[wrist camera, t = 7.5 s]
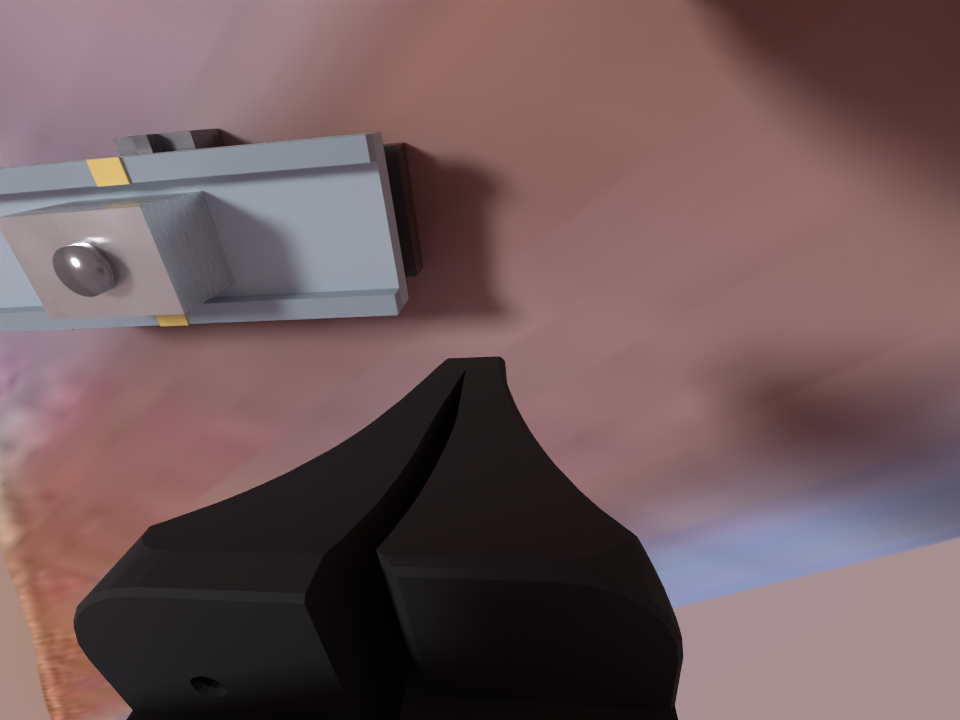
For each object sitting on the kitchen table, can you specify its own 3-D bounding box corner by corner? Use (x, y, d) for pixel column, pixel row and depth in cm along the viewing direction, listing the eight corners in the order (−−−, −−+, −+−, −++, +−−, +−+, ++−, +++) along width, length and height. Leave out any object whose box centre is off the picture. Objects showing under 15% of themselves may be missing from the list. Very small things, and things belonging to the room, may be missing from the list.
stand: (426, 290, 21) (414, 311, 19) (75, 306, 24) (30, 325, 21) (399, 110, 18) (381, 111, 16) (-7, 150, 20) (-70, 156, 18)
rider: (235, 283, 18) (174, 319, 15) (119, 289, 18) (37, 326, 15) (203, 190, 16) (127, 210, 13) (77, 200, 17) (-23, 221, 14)
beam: (408, 298, 19) (397, 316, 17) (19, 316, 21) (-23, 333, 19) (380, 131, 16) (364, 133, 14) (-68, 173, 18) (-125, 179, 16)
